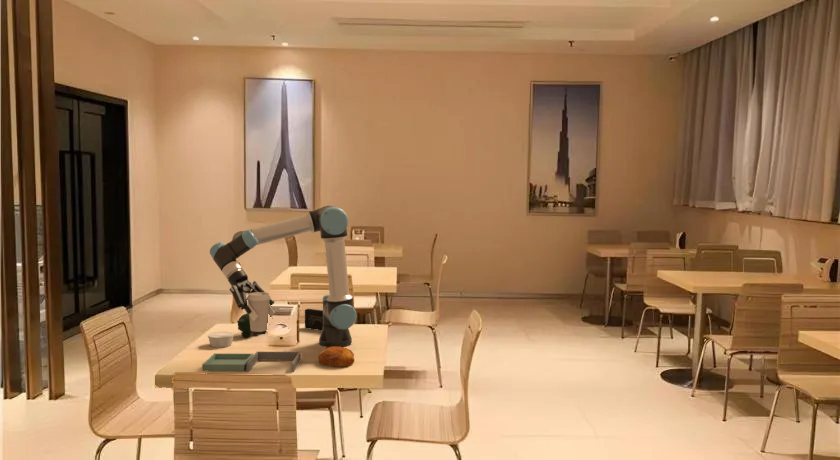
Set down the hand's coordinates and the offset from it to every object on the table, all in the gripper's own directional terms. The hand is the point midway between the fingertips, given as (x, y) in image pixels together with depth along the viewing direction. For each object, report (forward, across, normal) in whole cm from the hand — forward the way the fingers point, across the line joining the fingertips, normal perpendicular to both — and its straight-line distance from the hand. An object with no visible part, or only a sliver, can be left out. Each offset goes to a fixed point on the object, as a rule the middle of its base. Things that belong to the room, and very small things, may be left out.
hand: (264, 316), depth 276 cm
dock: (+16, -3, -13) cm, 21 cm away
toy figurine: (-15, -40, -44) cm, 62 cm away
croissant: (+30, -20, +1) cm, 37 cm away
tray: (+4, +5, -25) cm, 26 cm away
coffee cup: (+2, 0, -6) cm, 7 cm away
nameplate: (+1, -64, -28) cm, 70 cm away
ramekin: (-14, -17, -44) cm, 49 cm away
